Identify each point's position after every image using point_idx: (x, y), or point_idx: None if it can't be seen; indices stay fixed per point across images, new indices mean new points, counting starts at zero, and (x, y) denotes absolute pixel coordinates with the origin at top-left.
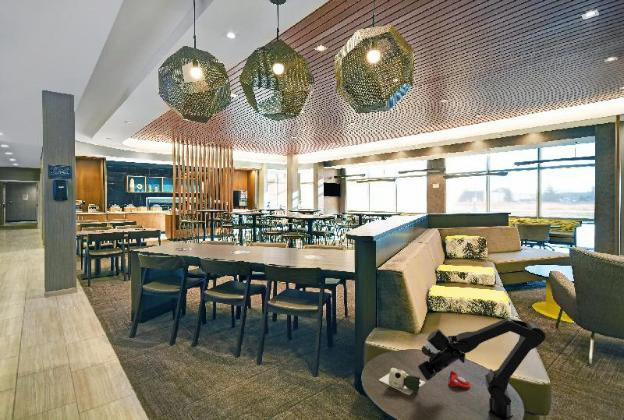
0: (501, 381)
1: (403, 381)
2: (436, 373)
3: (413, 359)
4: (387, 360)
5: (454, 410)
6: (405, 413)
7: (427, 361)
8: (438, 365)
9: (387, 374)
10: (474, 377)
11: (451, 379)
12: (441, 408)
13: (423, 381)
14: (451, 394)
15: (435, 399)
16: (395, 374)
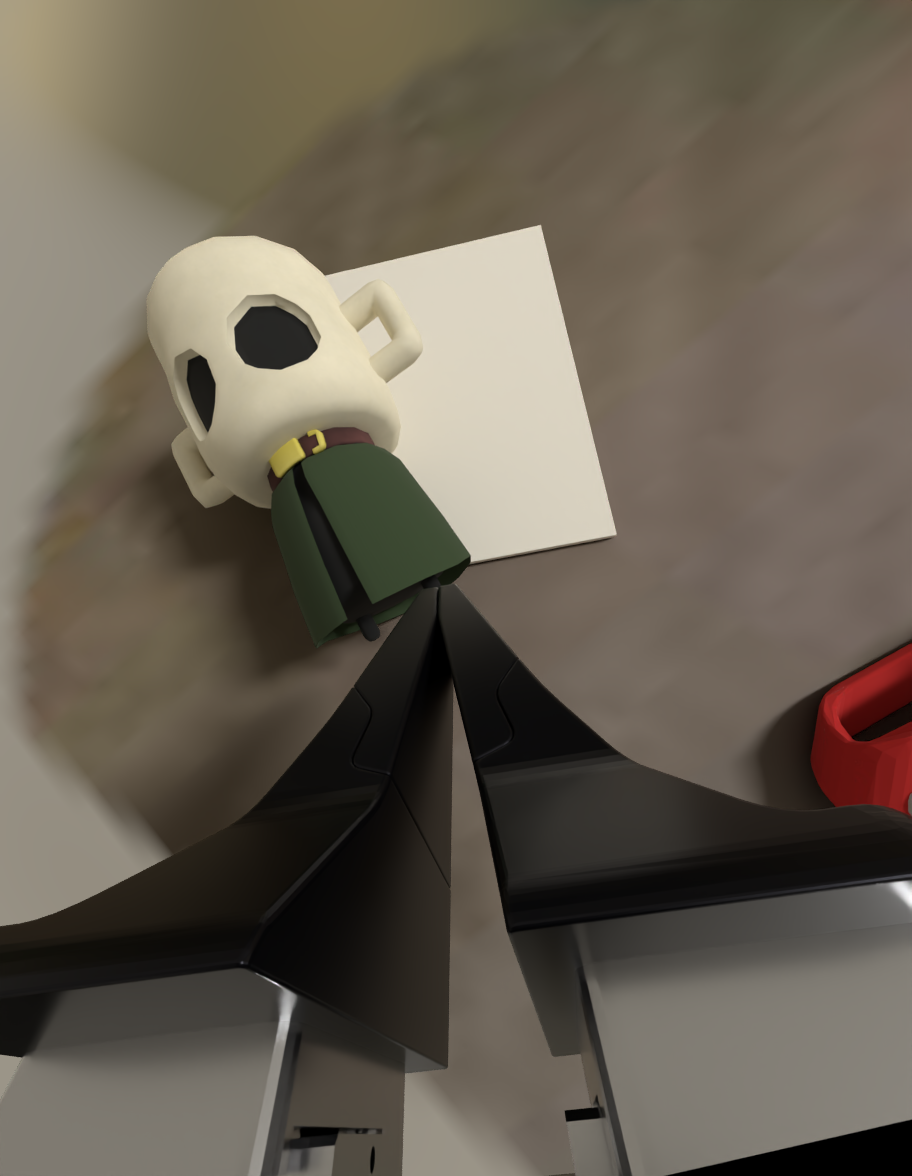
0: None
1: (262, 488)
2: (438, 1066)
3: (873, 155)
4: (603, 74)
5: (465, 1033)
6: (74, 763)
7: (189, 999)
8: None
9: (398, 259)
10: None
11: (906, 750)
12: None
13: (607, 513)
14: None
15: (460, 787)
16: (190, 368)
